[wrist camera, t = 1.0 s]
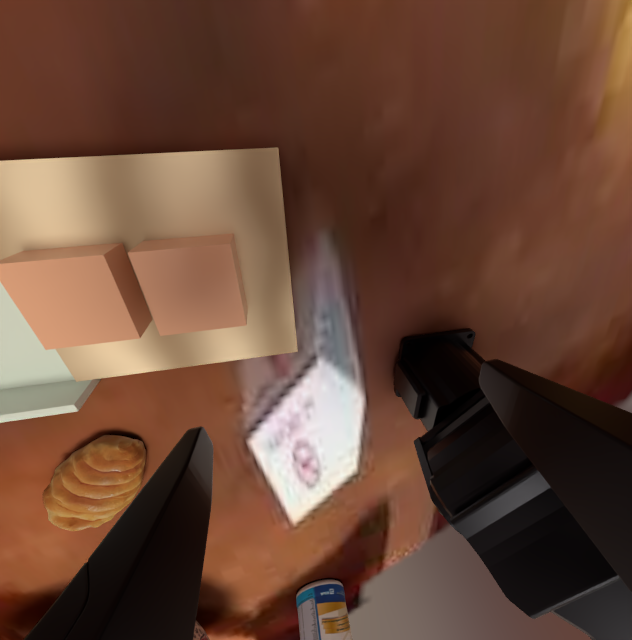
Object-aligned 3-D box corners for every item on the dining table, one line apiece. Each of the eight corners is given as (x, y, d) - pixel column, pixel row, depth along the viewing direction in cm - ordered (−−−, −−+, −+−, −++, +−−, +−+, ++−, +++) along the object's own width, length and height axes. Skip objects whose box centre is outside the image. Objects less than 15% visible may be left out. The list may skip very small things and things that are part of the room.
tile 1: (233, 233, 15) (230, 243, 13) (248, 308, 17) (246, 325, 16) (143, 240, 14) (127, 252, 13) (170, 317, 17) (160, 336, 15)
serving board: (275, 148, 15) (278, 147, 13) (293, 332, 22) (297, 351, 19) (-14, 162, 14) (-64, 163, 12) (95, 357, 20) (76, 381, 18)
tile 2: (122, 242, 14) (103, 254, 13) (152, 319, 17) (140, 338, 15) (22, 250, 14) (-12, 264, 12) (68, 329, 16) (45, 350, 14)
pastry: (84, 417, 23) (54, 461, 19) (169, 439, 26) (156, 481, 22) (50, 482, 26) (20, 530, 22) (130, 495, 29) (113, 539, 25)
